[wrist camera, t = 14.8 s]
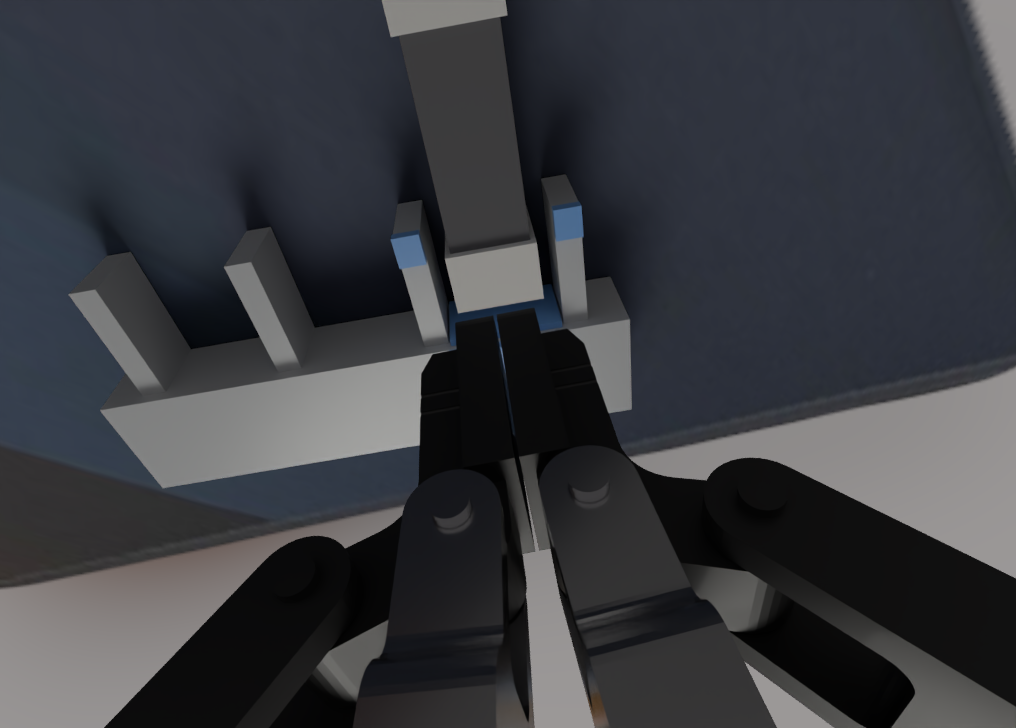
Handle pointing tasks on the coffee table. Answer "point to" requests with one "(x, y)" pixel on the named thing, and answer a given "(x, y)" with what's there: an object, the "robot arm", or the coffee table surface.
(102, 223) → the coffee table surface
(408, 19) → the dark grey capped bar
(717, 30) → the coffee table surface
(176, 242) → the coffee table surface
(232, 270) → the pronged holder rack
